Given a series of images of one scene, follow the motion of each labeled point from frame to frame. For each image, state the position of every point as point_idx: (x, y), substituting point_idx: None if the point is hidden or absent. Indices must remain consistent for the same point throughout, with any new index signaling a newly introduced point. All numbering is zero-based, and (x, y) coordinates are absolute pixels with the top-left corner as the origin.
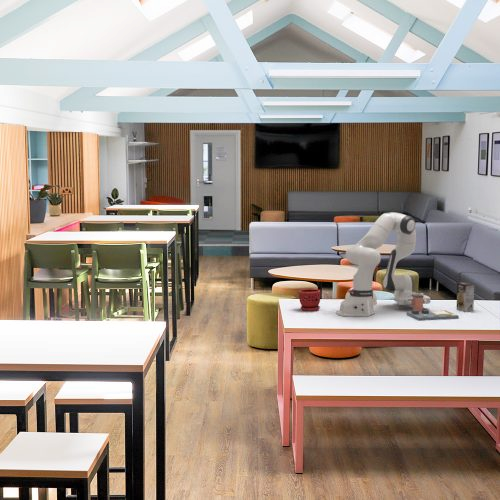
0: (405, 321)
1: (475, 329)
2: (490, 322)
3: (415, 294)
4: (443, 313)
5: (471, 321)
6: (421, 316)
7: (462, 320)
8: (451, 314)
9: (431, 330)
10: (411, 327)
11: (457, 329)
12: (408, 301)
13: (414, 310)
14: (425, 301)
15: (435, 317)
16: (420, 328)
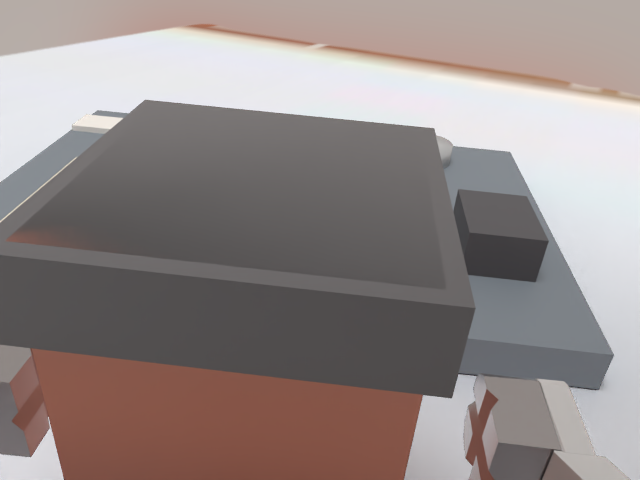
0: (637, 186)
1: (261, 41)
2: (30, 60)
3: (290, 258)
4: None
5: (110, 87)
6: (460, 169)
7: None
8: None
9: (494, 70)
10: (601, 108)
11: (348, 54)
12: (602, 468)
13: (509, 221)
14: None
15: None
16: (546, 91)
